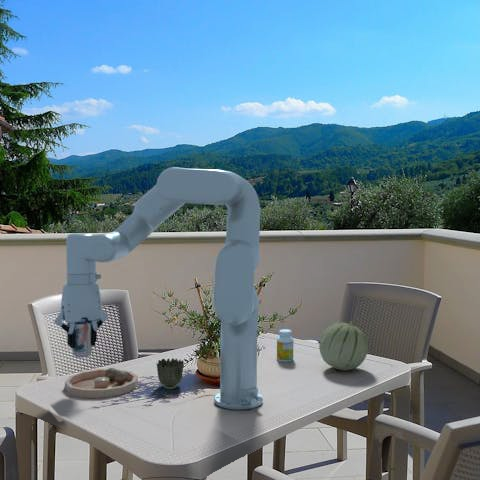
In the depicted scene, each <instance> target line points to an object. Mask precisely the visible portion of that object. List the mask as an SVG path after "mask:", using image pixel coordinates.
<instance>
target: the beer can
mask: <svg viewBox="0 0 480 480" xmlns="http://www.w3.org/2000/svg"><path fill="white" fill-rule="evenodd" d="M87 317H88V316H83V317H81V320H80V321H79V322H77V323H75V326H74V330H73V331H74V334H75V348H74V349H72V354H73V356H75V357H76V358H87V357H90V355H92V345H91V321H89V320H88V318H87Z"/></svg>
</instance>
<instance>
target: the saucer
mask: <svg viewBox="0 0 480 480" xmlns="http://www.w3.org/2000/svg"><path fill="white" fill-rule="evenodd" d="M108 369H109V368H100V369H99V368H97V369H91V370H85V371H81V372H78V373H76V374H72V375H70V376H68V378H67V379H65V381H64V390H65V391H66V392H67V393H68V394H69V395H70V396H73V397H74V396H75V397H79V398H85V399H87V398H88V399H96V398H97V399H100V398H103V399H105V398H110V397H116V396H121V395H125V394H128V393H129V392H131V391H133V390H136V387H137V386H138V383H139V381H138V380H139V379H138V377H139V376H138V375H137V374H135V373H133V371H130V370H125V369H120V368H119V369H118V368H115V369H116V370H117V372H119V371H124V372H125V373H126V374H127V381H126V382H125V383H124V384H118V383H116V382H115V380H113V381H109V378H108V377H105V372H106V371H107V370H108Z"/></svg>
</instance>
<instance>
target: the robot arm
mask: <svg viewBox="0 0 480 480" xmlns="http://www.w3.org/2000/svg"><path fill="white" fill-rule="evenodd" d="M185 204H196V205H197V204H198V205H209V206H210V205H211V206H212V205H213V206H223V205H224V206H226V208H227V217H226V234H225V244H224V246H223V247H222V248H221V249H220V251H219V252H218V254H217V256H216V262H215V272H214V287H213V290H214V291H213V309H214V310H213V311H214V314H215V315H216V317H217V318H218V320H219V321H220V339H219V343H220V345H219V347H220V350H219V351H220V352H219V353H220V355H219V356H220V357H219V359H220V362H219V364H220V367H219V369H220V371H219V372H220V375H219V377H220V381H219V382H220V384H219V387H220V388H219V389H220V390H219V391H220V392H218V393H217V394H216V395H214V398H213V399H214V404H215V405H216V406H218V407H220V408H223V409H228V410H237V411H239V410H240V411H241V410H243V411H244V410H249V409H254V408H257V407H259V406H260V405H262V404H263V400H264V399H263V396H262V395H261V393H259V388H258V382H257V380H258V378H257V377H258V375H257V374H258V366H257V365H258V323H259V322H258V321H259V303H260V302H259V295H258V293H257V290H256V289H255V287H254V283H255V282H254V281H255V271H256V269H257V268H258V265H259V262H260V235H261V232H260V229H261V228H260V225H261V224H260V223H261V205H260V199H259V196H258V194H257V192H256V189H255V188H254V187H253V186H252V184H251V183H250V182H249V181H248V180H246V179H245V178H244V177H242V176H241V175H239V174H237V173H235V172H233V171H229V170H222V169H206V168H204V169H203V168H187V167H186V168H185V167H175V166H174V167H173V166H171V167H168V168H166V169H164V170H162V172H161V173H160V174H159V176H158V177H157V179H156V184H155V185H154V186H152V188H151V189H149V190H148V191H147V192H146V193H145V194H143V195H142V196H141V197H140V198H139V199H137V201H136V202H135V204H134V208H133V211H132V213H131V215H129V217H128V218H127V219H126V220H125V221H123V223H121V224H120V225H119V226H118V227H116V228H115V229H114V230H113V231H112V232H111V231H110V232H105V233H101V234H93V233H89V232H88V233H87V232H77V233H75V232H74V233H69V234H68V235H67V237H66V241H65V243H66V245H65V246H66V247H65V249H66V250H65V251H66V255H65V256H66V284H63V287H62V293H61V300H60V301H61V302H60V304H61V305H60V312H59V314H58V315H57V316H56V318H55V319H54V321H53V323H54V324H55V325H57V326H58V327H60V328H61V329H63V330H64V331H65V333H66V334H67V336H66V337H67V338H66V339H67V345H68V346H69V347H70V348H71V349H72V350H73V349H74V348H75V334H74V331H73V330H74V326H75V323H77V322H79V321H80V320H81V317H83V316H88V317H87V318H88V320H89V321H91V347H96V343H97V341H98V340H97V338H98V337H97V336H98V335H97V334H98V333H97V332H98V331H99V329H100V327H101V326H102V325H103V323H105V322H106V321H107V320H108V319H109V315H108V314H107V313H106V312H105V311H104V308H102V299H101V292H100V287H99V283H98V280H99V279H102V274H101V273H97V272H96V270H97V267H96V266H97V265H96V263H110V262H113V261H117V260H120V259H123V258H124V257H126V256H127V255H128V254H130V253H131V252H133V250H135V248H137V247H138V246H139V245H141V244H142V243H143V242H144V241H145V240H146V239H147V238H149V236H150V235H151V234H152V233H153V232H154V231H156V230H157V228H158V227H159V226H160V225H161V224H162V223H164V222H165V221H166V220H168V218H170V217H171V216H172V215H173V214H174V213H175V212H177V211H178V210H179V209H180V208H182V207H183V206H184V205H185ZM63 321H65V322H66V323H64V322H63Z"/></svg>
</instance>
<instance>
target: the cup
mask: <svg viewBox="0 0 480 480" xmlns="http://www.w3.org/2000/svg"><path fill="white" fill-rule="evenodd" d="M184 363H185V362H184V360H183V359H182V360H181V359H179V360H178V359H177V358H174V357H172V358H171V360H170V358H167V360H166V359H165V358H161V360H160V359H158V361H157V362H156V363H155V364H156V370H157V376H158V380H159V383H161V385H163V388H164V389H167V390H168V389H169V390H171V389H175V388H177V387H178V384H179V383H181V380H182V377H183V372H184Z"/></svg>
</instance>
